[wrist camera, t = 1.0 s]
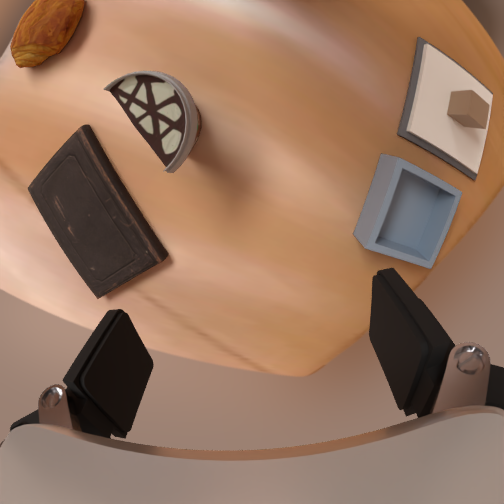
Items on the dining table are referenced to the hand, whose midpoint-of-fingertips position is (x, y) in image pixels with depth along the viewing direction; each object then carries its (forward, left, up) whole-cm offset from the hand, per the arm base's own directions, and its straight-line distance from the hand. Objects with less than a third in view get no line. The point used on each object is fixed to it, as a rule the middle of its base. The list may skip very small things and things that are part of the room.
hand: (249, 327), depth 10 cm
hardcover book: (+10, -23, -28) cm, 37 cm away
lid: (-21, +25, -26) cm, 42 cm away
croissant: (-21, -40, -27) cm, 53 cm away
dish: (-3, +21, -27) cm, 34 cm away
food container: (-7, -11, -27) cm, 30 cm away
